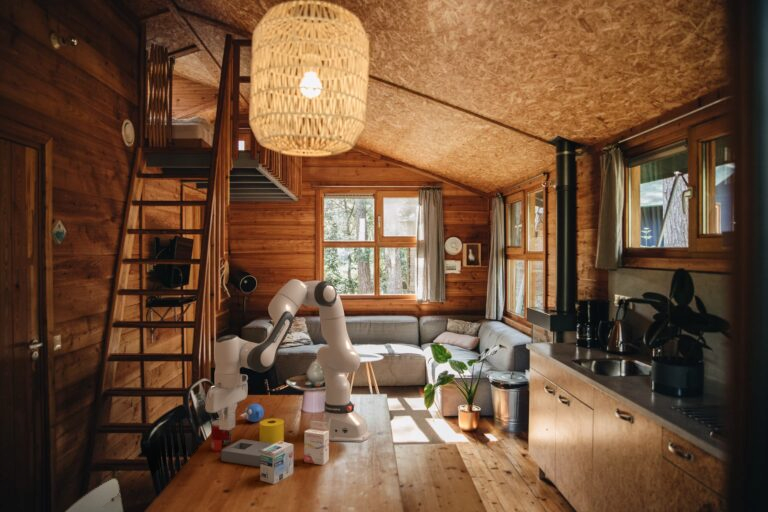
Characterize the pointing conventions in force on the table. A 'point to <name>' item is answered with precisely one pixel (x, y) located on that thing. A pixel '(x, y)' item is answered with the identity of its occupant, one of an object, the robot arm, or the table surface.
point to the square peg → (228, 418)
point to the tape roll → (272, 430)
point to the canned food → (219, 437)
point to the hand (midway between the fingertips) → (227, 417)
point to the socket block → (244, 452)
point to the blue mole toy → (253, 413)
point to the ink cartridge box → (316, 443)
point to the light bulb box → (276, 462)
